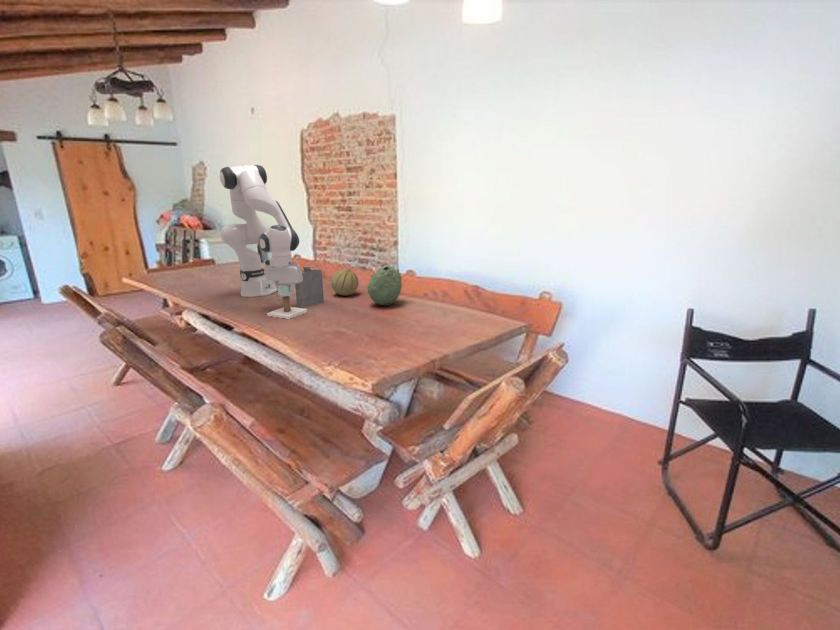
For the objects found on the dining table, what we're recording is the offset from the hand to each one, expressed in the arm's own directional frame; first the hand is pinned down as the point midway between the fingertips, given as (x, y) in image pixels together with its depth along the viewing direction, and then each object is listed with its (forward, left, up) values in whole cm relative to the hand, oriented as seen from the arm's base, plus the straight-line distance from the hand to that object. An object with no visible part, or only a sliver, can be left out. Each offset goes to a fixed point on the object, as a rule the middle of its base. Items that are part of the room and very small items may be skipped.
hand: (285, 290), depth 206 cm
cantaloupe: (-41, +5, -12) cm, 43 cm away
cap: (0, 0, -2) cm, 2 cm away
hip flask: (-18, -1, -12) cm, 22 cm away
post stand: (0, 0, -12) cm, 12 cm away
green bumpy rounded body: (-33, +35, -12) cm, 50 cm away
